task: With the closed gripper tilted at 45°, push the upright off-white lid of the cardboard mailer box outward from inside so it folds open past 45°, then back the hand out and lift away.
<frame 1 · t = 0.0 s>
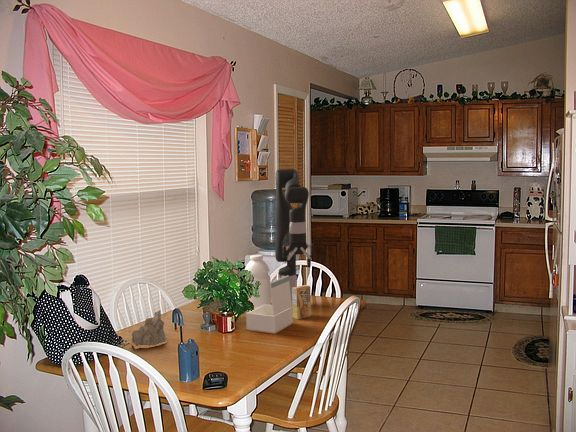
hand: (298, 267, 261), 29 cm above the table, tool pointing down, fingers open, 8 cm apart
candy box: (301, 317, 287), on the table
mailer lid: (281, 295, 268), point 16 cm above the table, hinge at -5.0°
mailer box: (269, 326, 272), on the table
bottle: (258, 308, 308), on the table
grey rock: (149, 343, 254), on the table
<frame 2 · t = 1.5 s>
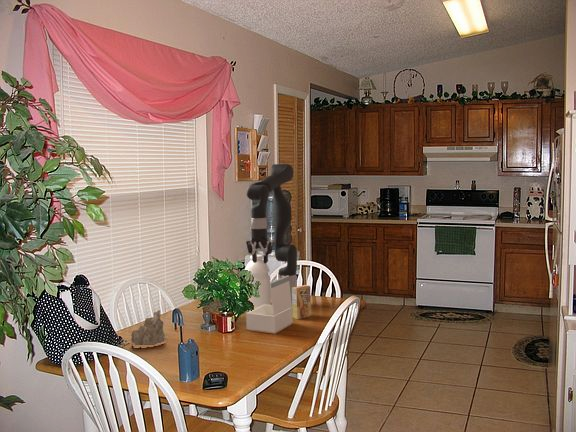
hand: (260, 262, 276), 29 cm above the table, tool pointing down, fingers open, 5 cm apart
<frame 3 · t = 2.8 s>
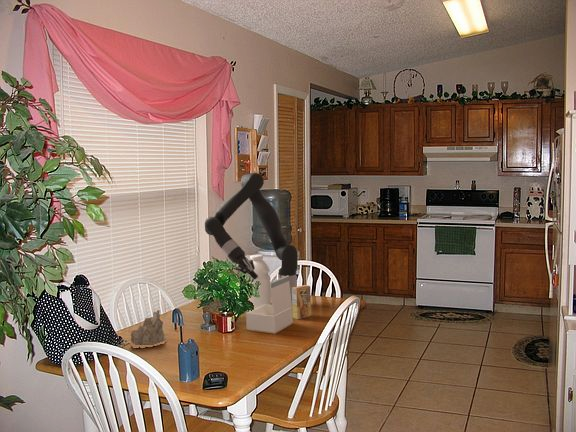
hand: (256, 278, 273), 23 cm above the table, tool tilted 45°, fingers closed
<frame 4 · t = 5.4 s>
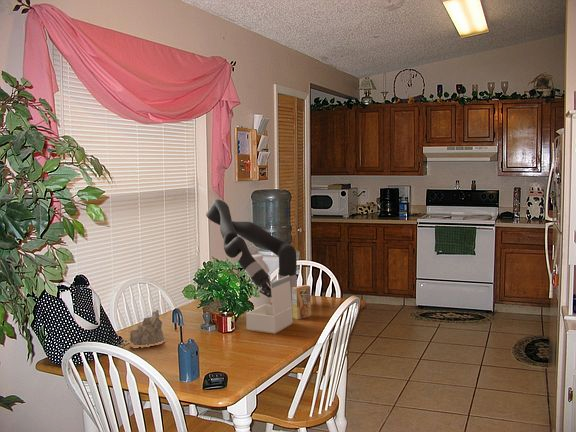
hand: (279, 302, 268), 13 cm above the table, tool tilted 45°, fingers closed
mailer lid: (281, 295, 267), point 16 cm above the table, hinge at -3.6°, touching gripper
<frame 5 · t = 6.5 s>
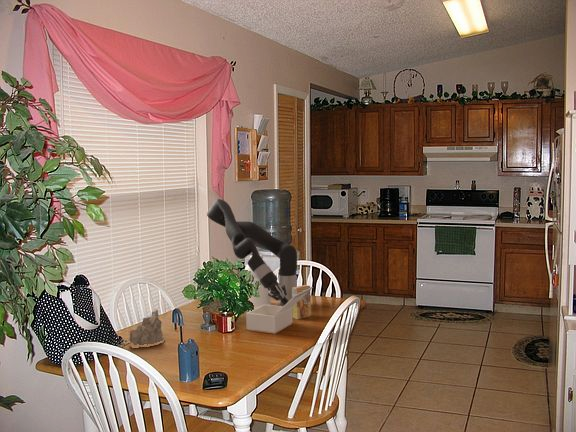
hand: (288, 305, 266), 11 cm above the table, tool tilted 40°, fingers closed
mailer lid: (293, 301, 265), point 13 cm above the table, hinge at 47.1°, touching gripper
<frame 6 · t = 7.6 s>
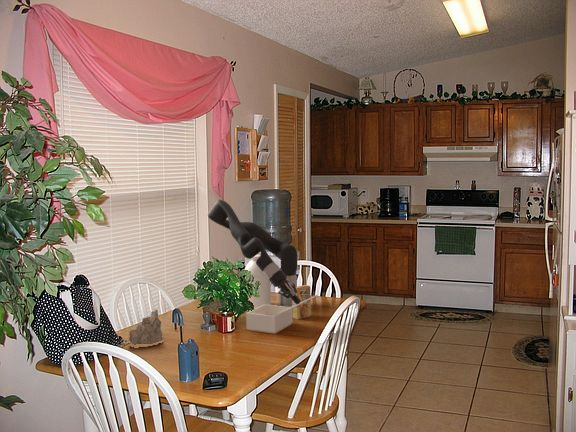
hand: (298, 303, 263), 13 cm above the table, tool tilted 45°, fingers closed
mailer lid: (296, 305, 264), point 12 cm above the table, hinge at 63.4°, touching gripper
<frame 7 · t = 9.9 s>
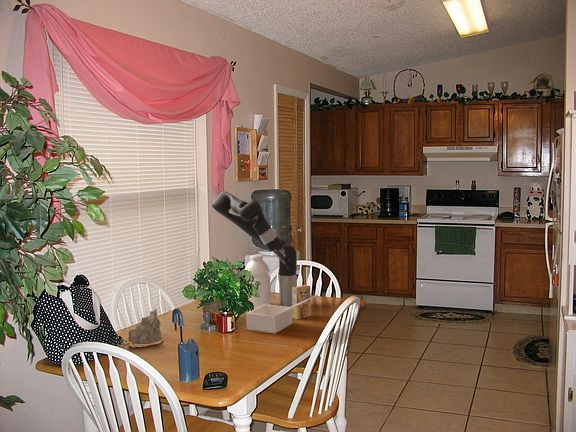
hand: (291, 268, 277), 26 cm above the table, tool tilted 35°, fingers closed
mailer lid: (296, 305, 264), point 12 cm above the table, hinge at 63.4°
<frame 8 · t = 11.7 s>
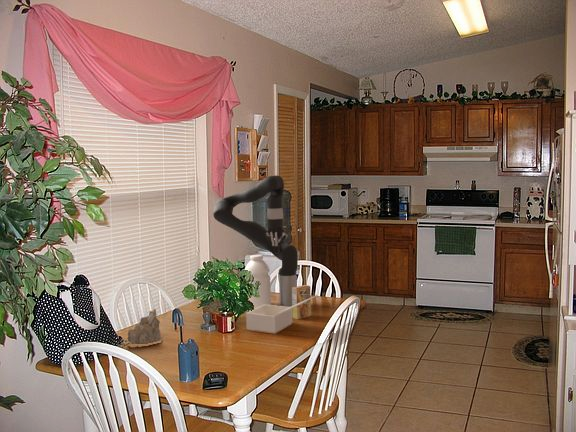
hand: (276, 253, 278), 33 cm above the table, tool pointing down, fingers closed
at the end: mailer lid at +63° (first picture: -5°); candy box moved 0.2 cm from its start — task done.
